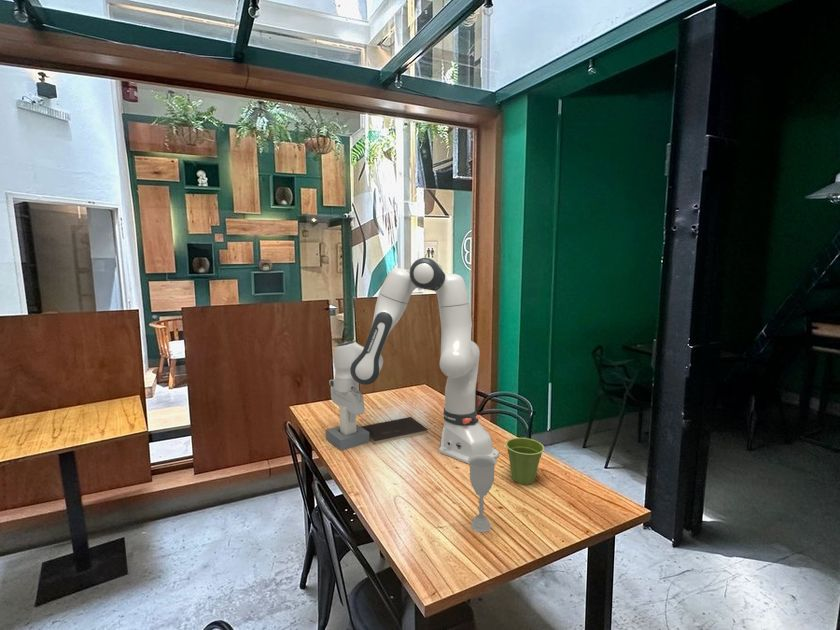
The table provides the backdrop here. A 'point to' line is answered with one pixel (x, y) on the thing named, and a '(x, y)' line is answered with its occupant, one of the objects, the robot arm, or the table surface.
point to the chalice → (481, 486)
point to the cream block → (346, 422)
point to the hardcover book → (394, 430)
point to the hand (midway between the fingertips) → (347, 419)
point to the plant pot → (524, 459)
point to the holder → (347, 437)
